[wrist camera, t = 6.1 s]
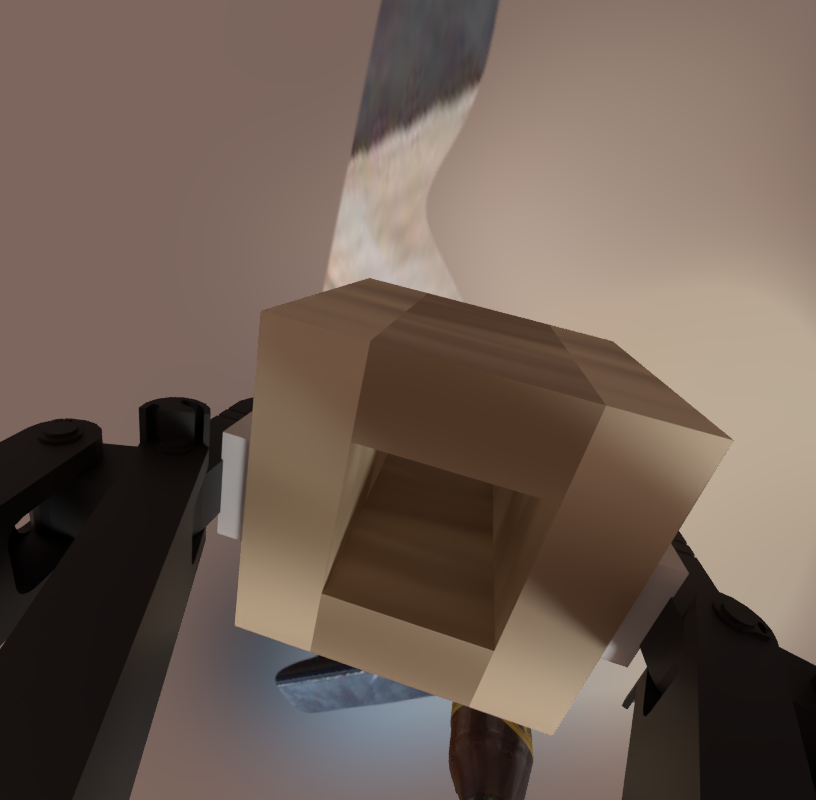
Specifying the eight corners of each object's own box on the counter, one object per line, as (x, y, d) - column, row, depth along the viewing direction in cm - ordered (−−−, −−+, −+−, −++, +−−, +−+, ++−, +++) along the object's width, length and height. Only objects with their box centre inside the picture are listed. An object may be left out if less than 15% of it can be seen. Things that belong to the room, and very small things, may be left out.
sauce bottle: (531, 640, 42) (564, 951, 23) (472, 648, 43) (460, 942, 25) (510, 590, 40) (528, 883, 22) (450, 601, 42) (419, 879, 23)
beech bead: (369, 278, 14) (261, 311, 7) (612, 341, 13) (734, 440, 6) (333, 477, 17) (234, 625, 10) (527, 537, 16) (552, 735, 10)
